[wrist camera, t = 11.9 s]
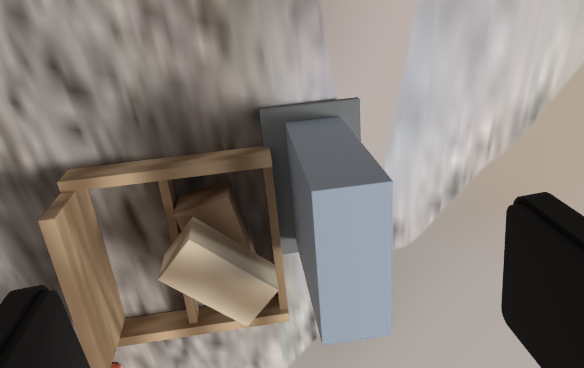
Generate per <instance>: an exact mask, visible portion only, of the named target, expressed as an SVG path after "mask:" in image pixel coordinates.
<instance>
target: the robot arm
mask: <svg viewBox="0 0 584 368" xmlns="http://www.w3.org/2000/svg"><path fill="white" fill-rule="evenodd" d="M503 270H504V271H503V288H502V313H503V317H504V320H505V322H506V323H507V325H508V326H509V328H510V329H511V330H512V331H513V333H514V334H515V335H516V336H517V338H518V339H519V340H520V341H521V343H522V344H523V345H524V347H525V348H526V349H527V350H528V352H529V353H530V354H531V355H532V357H533V358H534V359H535V360H536V362H537V363H538V364H539V365H540V367H541V368H584V216H582V215H581V214H579V213H578V212H576V211H575V210H574V209H572V208H570V207H569V206H568V205H566V204H565V203H563V202H562V201H560V200H559V199H557V198H556V197H554V196H553V195H551V194H549V193H547V192H542V193H537V194H531V195H525V196H521V197H517V198H516V199H515V201H514V203H513V205H510V206H509V207H508V209H507V215H506V233H505V251H504V269H503ZM0 368H91V367H90V365H89V363H88V361H87V358H86V356H85V354H84V351H83V349H82V347H81V345H80V342H79V340H78V338H77V335H76V333H75V331H74V329H73V326H72V324H71V322H70V319H69V317H68V315H67V313H66V310H65V308H64V306H63V303H62V301H61V299H60V297H59V295H58V293H57V292H56V291H53V290H52V291H49V289H48V288H47V287H46V286H43V285H39V286H34V287H29V288H23V289H18V290H13V291H11V292H10V293H9V294H8V295H7V296H6V297H5V299H4V300H3V301H2V303H1V304H0Z"/></svg>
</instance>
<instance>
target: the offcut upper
mask: <svg viewBox="0 0 584 368" xmlns="http://www.w3.org/2000/svg"><path fill="white" fill-rule="evenodd" d="M158 280H159V281H161V282H163V283H164V284H166V285H168V286H170V287H172V288H174V289H176V290H178V291H180V292H182V293H184V294H186V295H188V296H189V297H191V298H193V299H195V300H197V301H199V302H201V303H203V304H205V305H207V306H209V307H211V308H213V309H214V310H216V311H218V312H220V313H222V314H224V315H226V316H228V317H230V318H232V319H234V320H236V321H238V322H239V323H241V324H243V325H245V326H247V327H248V325H249V324H250V323H251V322H252V321H253V320H254V319H255V317H256V316H257V315H258V314H259V313H260V312H261V310H262V309H263V308H264V307H265V306H266V305H267V303H268V302H269V301H270V300H271V299H272V298H273V296H274V295H275V294H276V293H277V292H278V291H279V289H278V282H277V276H276V269H275V265H274V264H273V263H271V262H269V261H268V260H266V259H264V258H262V257H261V256H259V255H257V254H256V253H254V252H252V251H251V250H249V249H247V248H245V247H244V246H242V245H240V244H239V243H237V242H235V241H234V240H232V239H230V238H228V237H227V236H225V235H223V234H222V233H220V232H218V231H217V230H215V229H213V228H211V227H210V226H208V225H206V224H205V223H203V222H201V221H199V220H198V219H196V218H194V217H192V218H191V220H190V221H189V222H188V224H187V225H186V226H185V228H184V229H183V230H182V232H181V233H180V234H179V236H178V237H177V238H176V240H175V241H174V242H173V244H172V245H171V246H170V248H169V249H168V250H167V252H166V253H165V254H164V258H163V262H162V266H161V270H160V274H159V278H158Z"/></svg>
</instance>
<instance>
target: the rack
mask: <svg viewBox="0 0 584 368" xmlns="http://www.w3.org/2000/svg"><path fill="white" fill-rule="evenodd" d="M259 168H263V175H264V183H265V192H266V200H267V208H268V217H269V225H270V233H271V242H272V250H273V258H274V265H275V269H276V276H277V282H278V289H279V291H278V296H276V297H273V298H272V299H271V300H270V301H269V302H268V303H267V305H266V306H265V307H264V308H263V309H262V310H261V312H260V313H259V314H258V315H257V316H256V317H255V319H254V320H253V321H252V322H251V323H250V324H249V325H248V327H253V326H260V325H267V324H273V323H280V322H287V321H289V313H288V305H287V296H286V287H285V278H284V269H283V260H282V251H281V242H280V233H279V224H278V215H277V206H276V197H275V188H274V179H273V170H272V159H271V153H270V149H269V147H267V148H264V147H263V146H257V147H249V148H240V149H232V150H224V151H216V152H207V153H199V154H191V155H182V156H174V157H166V158H158V159H149V160H141V161H133V162H125V163H116V164H108V165H100V166H91V167H83V168H75V169H68V170H67V171H66V173H65V174H64V175H63V176H62V177H61V178H60V179H59V181H58V182H57V184H58V187H59V191H60V194H59V196H58V197H57V198H56V199H55V200H54V202H53V203H52V204H51V205H50V207H49V208H48V209H47V210H46V212H45V213H44V214H43V215H42V217H41V218H40V219H39V220H38V223H39V226H40V229H41V231H42V234H43V237H44V240H45V243H46V246H47V249H48V251H49V254H50V257H51V260H52V263H53V266H54V269H55V271H56V274H57V277H58V280H59V283H60V286H61V289H62V291H63V294H64V297H65V300H66V303H67V306H68V309H69V311H70V314H71V317H72V320H73V323H74V326H75V329H76V331H77V334H78V337H79V340H80V343H81V346H82V349H83V351H84V354H85V356H86V358H87V361H88V363H89V365H90V367H91V368H111V364H112V361H113V358H114V355H115V352H116V348H117V347H120V346H127V345H133V344H140V343H147V342H153V341H160V340H167V339H173V338H180V337H187V336H193V335H200V334H207V333H213V332H220V331H227V330H233V329H240V328H247V326H245V325H243V324H241V323H239V322H238V321H236V320H234V319H232V318H230V317H228V316H226V315H224V314H222V313H220V312H218V311H216V310H214V309H213V308H211V307H209V306H207V307H200V308H199V305H198V301H197V300H195V299H193V298H191V297H189V296H188V295H186V294H184V293H183V296H184V301H185V305H186V310H180V311H173V312H166V313H159V314H152V315H145V316H138V317H131V318H126V317H125V313H124V310H123V306H122V303H121V300H120V296H119V293H118V289H117V286H116V282H115V279H114V275H113V272H112V269H111V265H110V262H109V258H108V255H107V251H106V248H105V245H104V241H103V238H102V234H101V231H100V227H99V224H98V220H97V217H96V214H95V210H94V207H93V203H92V200H91V196H90V193H89V190H91V189H99V188H107V187H115V186H123V185H131V184H139V183H147V182H155V181H158V184H159V188H160V193H161V197H162V202H163V206H164V211H165V215H166V220H167V224H168V229H169V233H170V238H171V242H172V244H173V242H174V241H175V240H176V238H177V237H178V236H179V234H180V233H181V232H182V231H181V229H180V227H179V225H178V223H177V221H176V218H175V216H174V211H175V207H176V203H177V199H176V194H175V189H174V184H173V179H179V178H187V177H195V176H203V175H211V174H219V173H227V172H235V171H243V170H251V169H259Z"/></svg>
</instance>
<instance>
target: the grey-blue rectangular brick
mask: <svg viewBox="0 0 584 368" xmlns="http://www.w3.org/2000/svg"><path fill="white" fill-rule="evenodd" d="M285 128H286V139H287V150H288V161H289V172H290V183H291V193H292V204H293V215H294V226H295V237H296V242H297V246H298V250H299V254H300V258H301V262H302V266H303V270H304V274H305V278H306V282H307V286H308V290H309V294H310V298H311V302H312V306H313V309H314V313H315V317H316V321H317V325H318V329H319V333H320V337H321V341H322V345H329V344H335V343H342V342H348V341H355V340H362V339H368V338H375V337H381V336H388V335H391V334H392V203H393V181H392V180H391V179H390V177H389V176H388V175H387V174H386V172H385V171H384V170H383V169H382V168H381V166H380V165H379V164H378V163H377V161H376V160H375V159H374V158H373V156H372V155H371V154H370V153H369V152H368V150H367V149H366V148H365V147H364V145H363V144H362V143H361V142H360V141H359V139H358V138H357V137H356V136H355V134H354V133H353V132H352V131H351V129H350V128H349V127H348V126H347V125H346V123H345V122H344V121H343V120H342V118H341V117H331V118H322V119H314V120H305V121H296V122H287V123H285Z"/></svg>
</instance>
